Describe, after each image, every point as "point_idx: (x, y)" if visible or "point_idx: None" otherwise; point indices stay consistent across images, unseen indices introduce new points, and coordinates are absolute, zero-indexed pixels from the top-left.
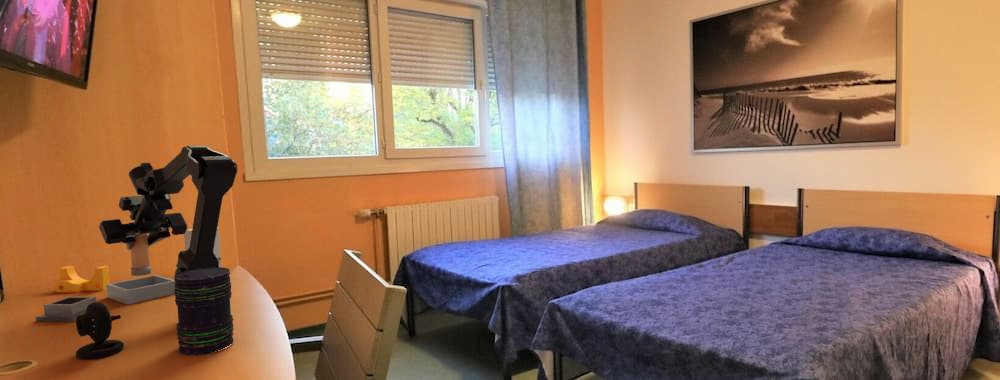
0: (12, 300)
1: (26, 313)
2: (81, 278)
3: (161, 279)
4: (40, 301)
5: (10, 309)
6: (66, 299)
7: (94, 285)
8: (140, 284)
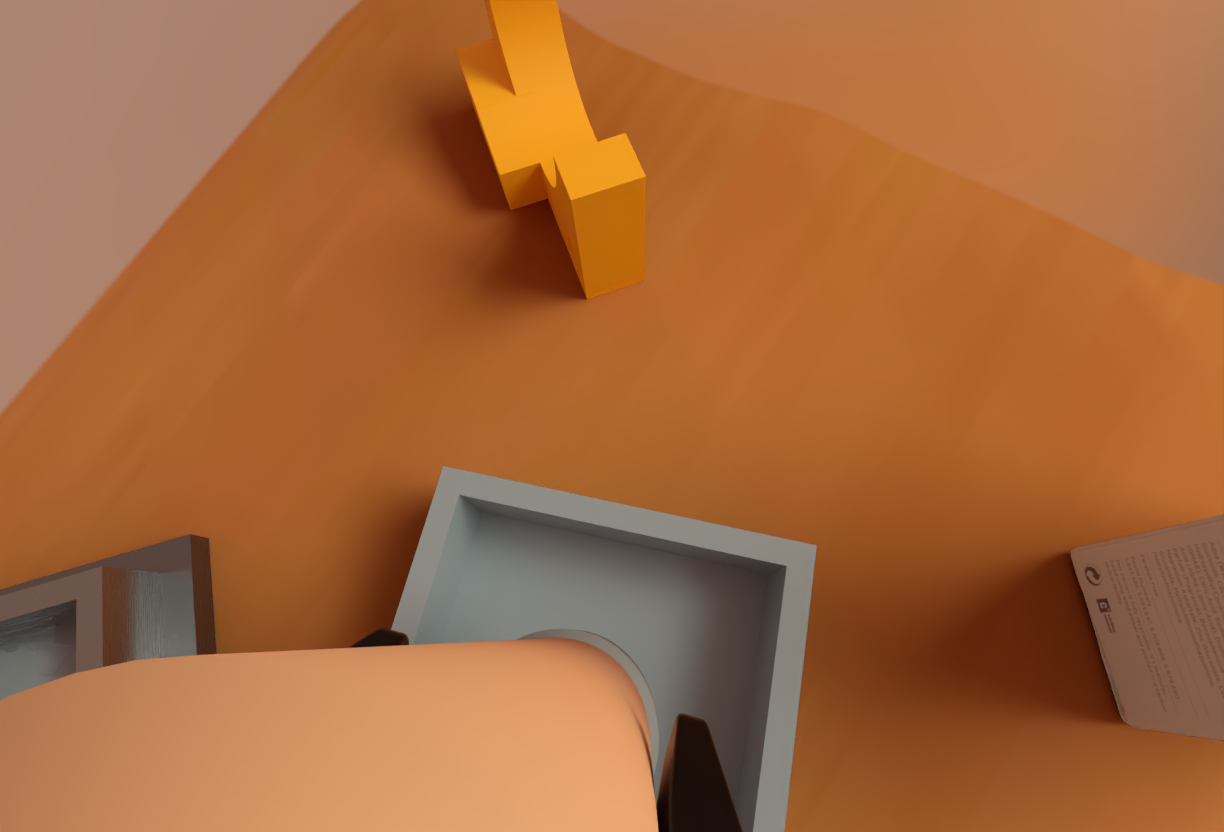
0: (302, 79)
1: (108, 382)
2: (574, 92)
3: (764, 715)
4: (313, 213)
5: (166, 229)
6: (52, 608)
7: (564, 232)
8: (669, 547)
